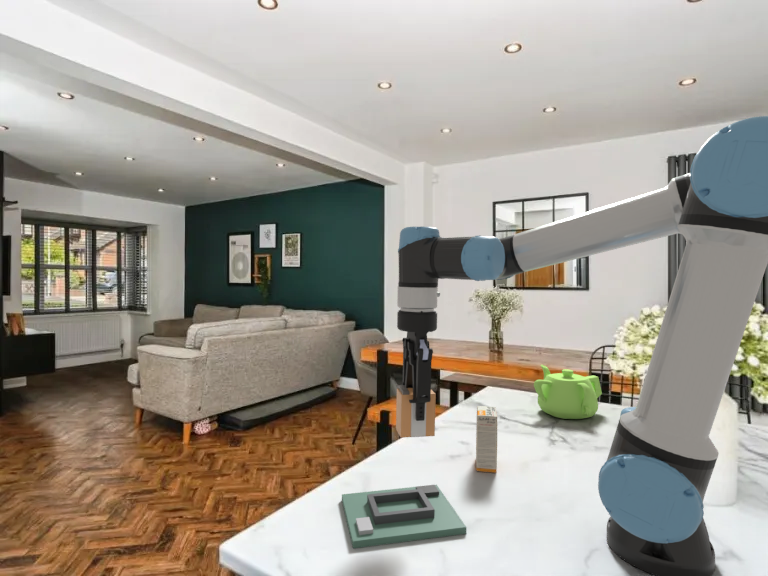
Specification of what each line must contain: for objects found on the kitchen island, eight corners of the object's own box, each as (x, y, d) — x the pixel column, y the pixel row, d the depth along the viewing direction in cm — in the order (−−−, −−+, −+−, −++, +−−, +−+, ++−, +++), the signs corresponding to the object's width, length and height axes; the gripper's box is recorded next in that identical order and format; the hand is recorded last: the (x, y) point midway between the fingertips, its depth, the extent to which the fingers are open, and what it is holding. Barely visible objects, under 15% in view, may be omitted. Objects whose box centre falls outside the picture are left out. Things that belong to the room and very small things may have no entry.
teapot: (594, 427, 132) (594, 379, 132) (526, 415, 143) (526, 371, 143) (602, 410, 148) (602, 368, 148) (540, 401, 159) (540, 361, 158)
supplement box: (497, 473, 101) (498, 416, 101) (476, 471, 102) (476, 415, 102) (495, 458, 109) (496, 406, 109) (475, 457, 110) (476, 405, 110)
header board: (466, 533, 78) (466, 518, 77) (353, 548, 73) (353, 532, 73) (436, 490, 93) (436, 477, 93) (341, 500, 89) (341, 487, 89)
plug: (434, 436, 83) (435, 390, 83) (400, 437, 82) (401, 391, 82) (428, 427, 88) (429, 384, 87) (395, 428, 86) (396, 385, 86)
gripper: (451, 314, 76) (448, 448, 77) (424, 305, 93) (421, 415, 94) (408, 314, 74) (405, 450, 75) (389, 305, 92) (387, 416, 93)
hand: (414, 430), depth 85 cm, fingers closed on plug, 4 cm apart
